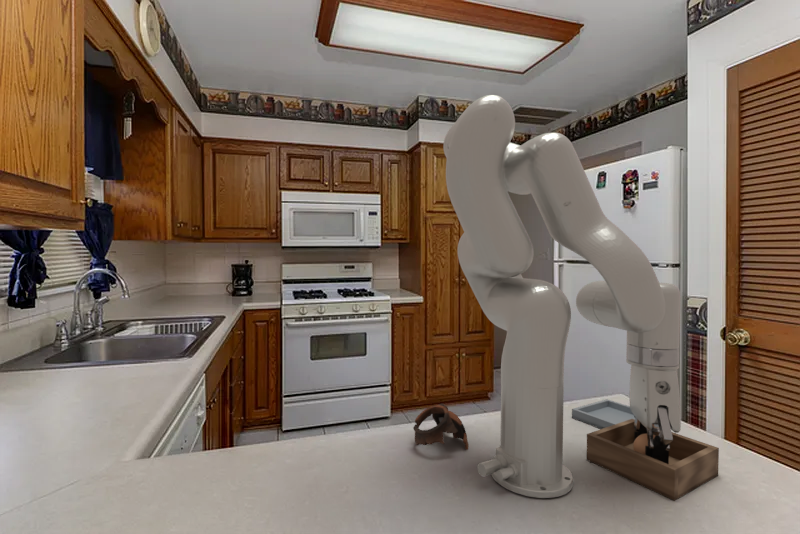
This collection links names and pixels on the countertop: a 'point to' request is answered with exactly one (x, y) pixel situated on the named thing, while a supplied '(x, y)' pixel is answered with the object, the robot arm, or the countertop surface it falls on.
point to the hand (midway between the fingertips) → (650, 462)
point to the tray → (603, 413)
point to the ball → (641, 443)
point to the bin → (654, 460)
